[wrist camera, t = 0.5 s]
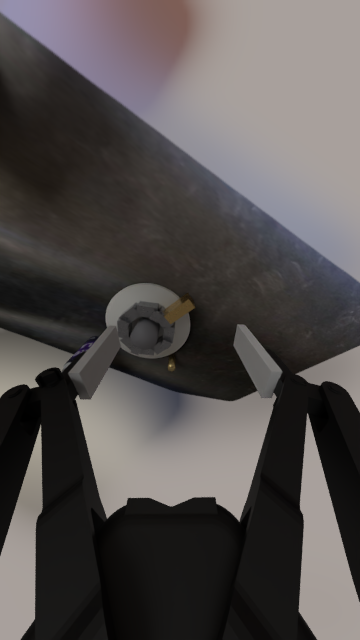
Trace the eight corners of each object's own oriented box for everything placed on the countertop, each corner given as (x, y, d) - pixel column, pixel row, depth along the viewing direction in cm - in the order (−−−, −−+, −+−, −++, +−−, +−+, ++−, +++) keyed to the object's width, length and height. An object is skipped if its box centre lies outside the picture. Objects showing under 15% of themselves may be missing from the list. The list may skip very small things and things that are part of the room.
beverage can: (113, 346, 44) (92, 378, 33) (98, 353, 45) (73, 387, 34) (100, 331, 42) (73, 361, 31) (85, 339, 43) (53, 371, 32)
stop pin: (167, 355, 46) (166, 368, 41) (172, 352, 45) (172, 364, 41) (171, 359, 46) (170, 372, 42) (176, 356, 46) (176, 369, 41)
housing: (90, 316, 39) (72, 331, 33) (152, 263, 33) (146, 267, 27) (147, 365, 47) (142, 385, 41) (205, 330, 42) (210, 346, 35)
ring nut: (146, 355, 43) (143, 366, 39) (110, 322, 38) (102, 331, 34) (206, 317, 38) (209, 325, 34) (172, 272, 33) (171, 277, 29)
